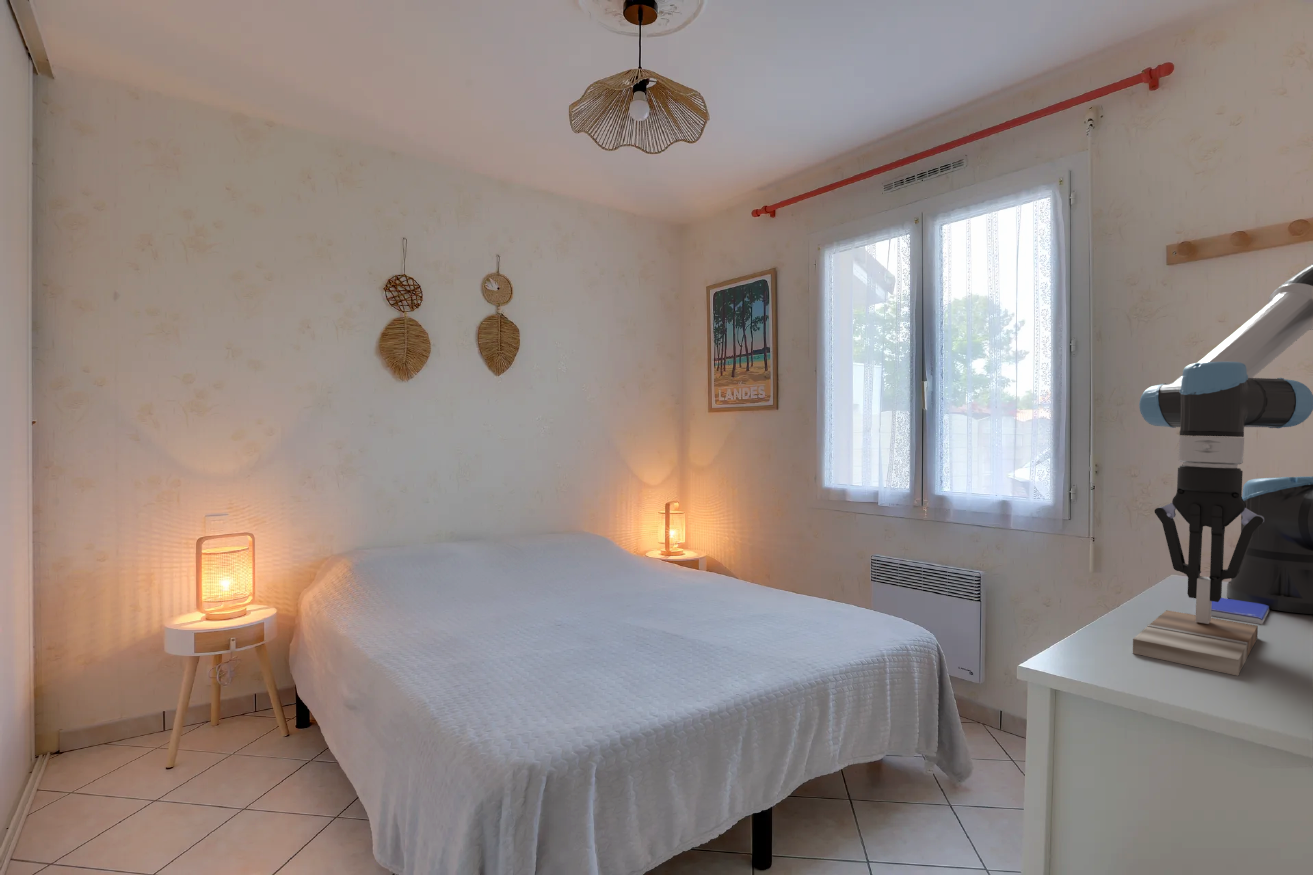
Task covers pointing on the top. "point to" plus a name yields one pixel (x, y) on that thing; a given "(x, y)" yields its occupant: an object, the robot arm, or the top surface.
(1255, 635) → the walnut plank
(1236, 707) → the top surface
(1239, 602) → the hard drive
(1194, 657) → the grey oak plank
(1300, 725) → the top surface
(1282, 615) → the top surface
